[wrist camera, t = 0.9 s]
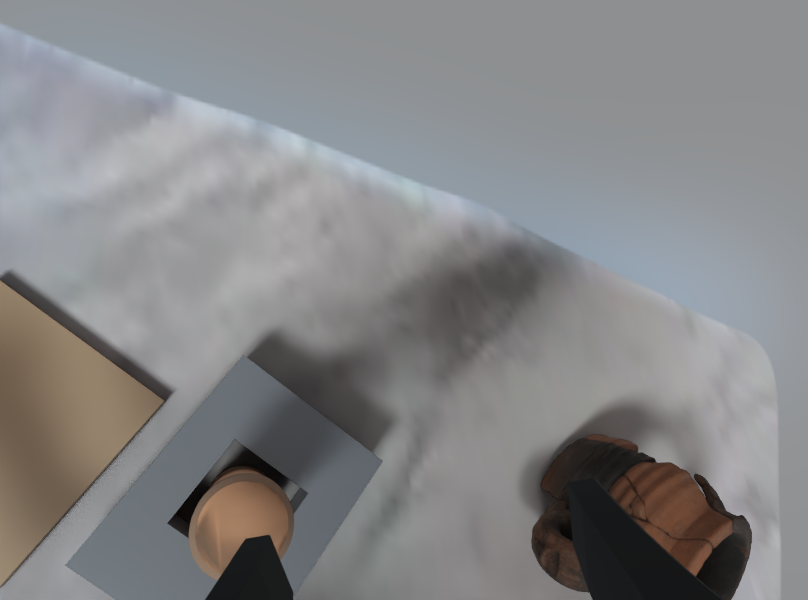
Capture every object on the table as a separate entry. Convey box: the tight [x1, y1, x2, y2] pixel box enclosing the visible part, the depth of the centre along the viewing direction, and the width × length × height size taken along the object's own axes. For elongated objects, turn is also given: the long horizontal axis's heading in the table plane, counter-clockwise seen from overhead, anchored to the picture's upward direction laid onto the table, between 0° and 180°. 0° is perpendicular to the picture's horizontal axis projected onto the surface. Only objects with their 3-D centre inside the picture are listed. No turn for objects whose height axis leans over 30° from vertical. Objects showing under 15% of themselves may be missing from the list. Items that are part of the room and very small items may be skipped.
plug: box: [189, 466, 294, 580], centre depth 20 cm, size 3×3×7 cm
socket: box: [65, 355, 383, 600], centre depth 23 cm, size 10×8×2 cm
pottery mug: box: [531, 435, 752, 600], centre depth 27 cm, size 12×10×8 cm
